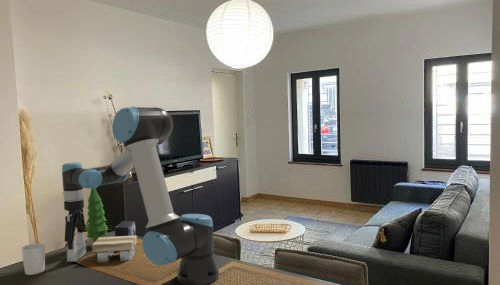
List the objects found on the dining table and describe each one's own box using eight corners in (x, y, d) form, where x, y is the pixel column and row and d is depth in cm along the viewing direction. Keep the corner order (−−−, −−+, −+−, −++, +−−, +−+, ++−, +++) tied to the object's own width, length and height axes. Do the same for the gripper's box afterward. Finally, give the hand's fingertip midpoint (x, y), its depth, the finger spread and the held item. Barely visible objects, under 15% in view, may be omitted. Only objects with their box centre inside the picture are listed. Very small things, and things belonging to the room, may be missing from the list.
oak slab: (132, 249, 156) (131, 242, 156) (92, 252, 155) (91, 244, 155) (137, 242, 166) (136, 235, 166) (99, 244, 165) (99, 237, 165)
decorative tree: (83, 249, 171) (79, 184, 169) (92, 242, 180) (89, 180, 178) (104, 249, 171) (101, 183, 169) (112, 242, 180) (109, 180, 178)
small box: (129, 249, 169) (128, 227, 169) (114, 250, 170) (113, 227, 169) (136, 242, 180) (135, 220, 179) (123, 242, 180) (122, 220, 179)
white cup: (18, 274, 145) (16, 248, 144) (36, 266, 152) (34, 242, 152) (33, 276, 142) (31, 250, 142) (51, 268, 150) (49, 244, 149)
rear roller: (130, 260, 156) (129, 251, 156) (120, 260, 156) (119, 251, 156) (135, 251, 166) (134, 243, 166) (125, 252, 166) (125, 243, 166)
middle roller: (107, 261, 156) (107, 252, 155) (97, 262, 155) (97, 252, 155) (114, 253, 166) (113, 244, 165) (104, 253, 165) (104, 244, 165)
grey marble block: (77, 261, 154) (76, 251, 154) (67, 261, 154) (66, 252, 154) (86, 252, 164) (85, 243, 164) (76, 253, 164) (76, 243, 164)
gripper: (74, 194, 168) (77, 243, 170) (52, 206, 146) (56, 262, 148) (91, 193, 169) (94, 242, 171) (73, 205, 147) (76, 261, 148)
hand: (76, 251), depth 159 cm, fingers closed on grey marble block, 10 cm apart
